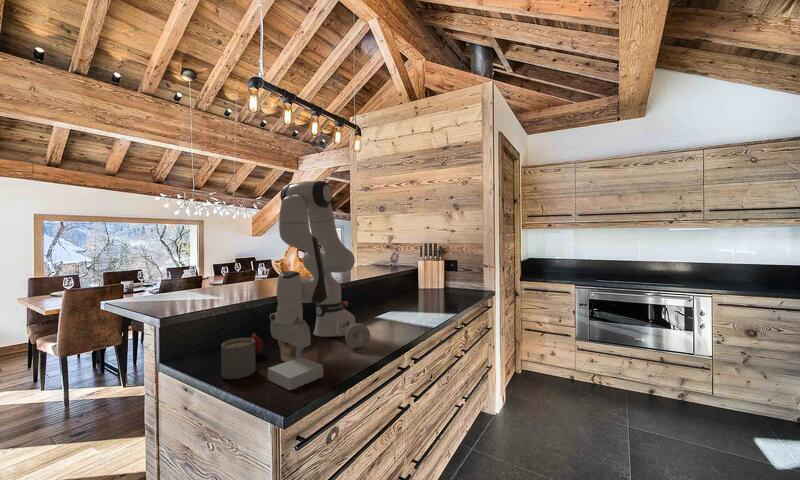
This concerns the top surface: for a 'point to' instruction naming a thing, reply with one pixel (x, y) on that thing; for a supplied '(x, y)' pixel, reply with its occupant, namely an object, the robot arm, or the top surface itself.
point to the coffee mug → (238, 358)
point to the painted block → (295, 373)
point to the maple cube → (288, 352)
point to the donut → (352, 330)
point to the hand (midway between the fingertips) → (290, 354)
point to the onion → (257, 343)
